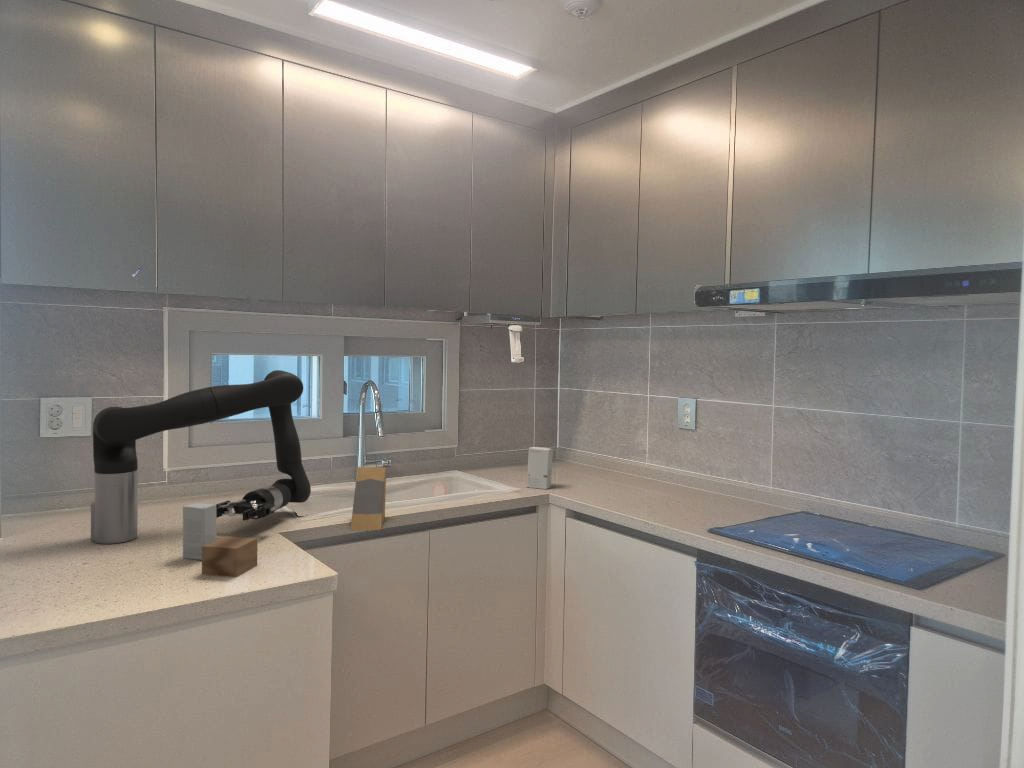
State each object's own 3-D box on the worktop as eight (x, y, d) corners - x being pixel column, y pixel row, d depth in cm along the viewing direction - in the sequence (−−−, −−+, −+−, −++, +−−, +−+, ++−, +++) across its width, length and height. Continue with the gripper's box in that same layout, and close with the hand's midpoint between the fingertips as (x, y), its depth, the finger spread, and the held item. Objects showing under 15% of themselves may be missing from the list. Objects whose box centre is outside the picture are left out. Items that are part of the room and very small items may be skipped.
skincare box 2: (526, 487, 238) (527, 448, 238) (531, 485, 244) (532, 446, 243) (547, 489, 235) (548, 449, 235) (552, 486, 241) (553, 447, 241)
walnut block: (201, 574, 136) (201, 546, 135) (224, 562, 144) (224, 536, 143) (236, 576, 134) (236, 548, 134) (257, 565, 142) (257, 538, 142)
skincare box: (217, 555, 149) (217, 504, 149) (203, 560, 145) (204, 508, 144) (195, 553, 151) (195, 502, 150) (181, 558, 146) (181, 506, 146)
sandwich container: (349, 531, 173) (349, 475, 173) (356, 517, 189) (356, 466, 188) (381, 530, 174) (382, 475, 174) (385, 517, 190) (386, 466, 189)
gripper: (238, 487, 175) (201, 499, 159) (287, 489, 173) (254, 501, 157) (238, 514, 176) (201, 529, 160) (287, 517, 174) (254, 532, 158)
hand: (228, 515), depth 159 cm, fingers open, 8 cm apart
